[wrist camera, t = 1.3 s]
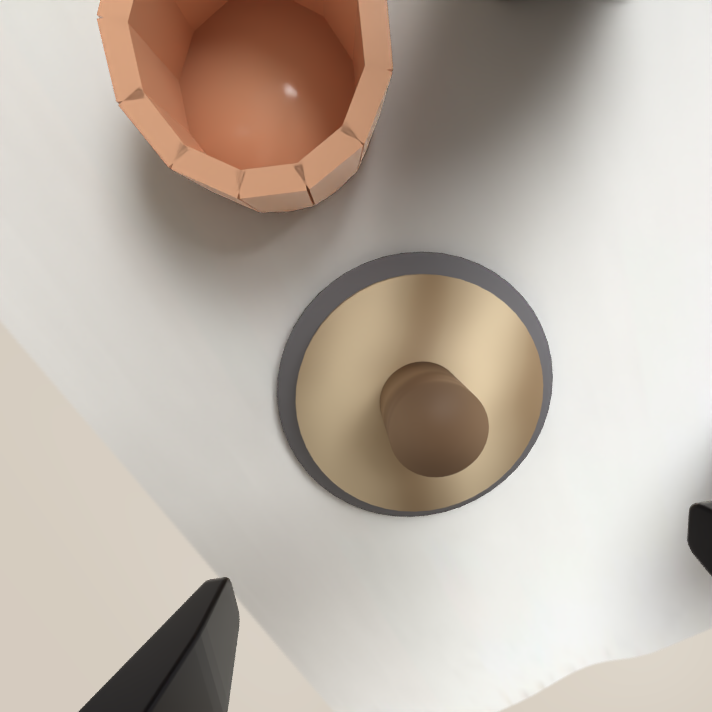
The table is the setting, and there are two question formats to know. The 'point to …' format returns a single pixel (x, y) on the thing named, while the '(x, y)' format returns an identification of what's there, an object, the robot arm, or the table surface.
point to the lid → (419, 392)
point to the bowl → (252, 90)
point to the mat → (362, 279)
